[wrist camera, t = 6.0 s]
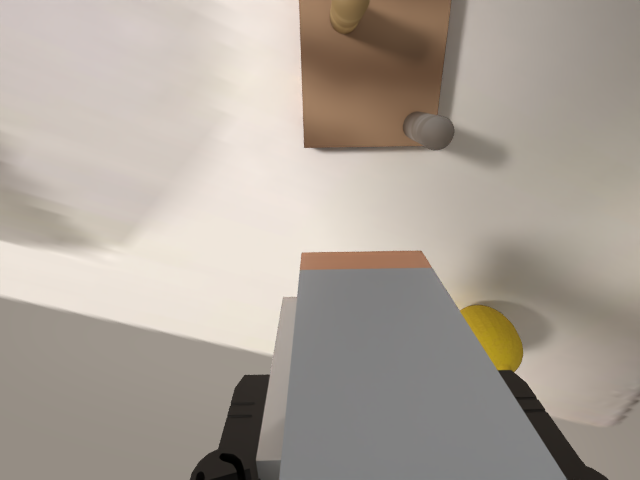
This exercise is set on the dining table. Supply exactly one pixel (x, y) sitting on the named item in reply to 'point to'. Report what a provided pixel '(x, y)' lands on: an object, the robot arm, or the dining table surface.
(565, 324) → the dining table surface
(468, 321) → the lemon
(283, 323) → the robot arm
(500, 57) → the dining table surface
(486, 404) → the sleeve
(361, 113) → the pin board
